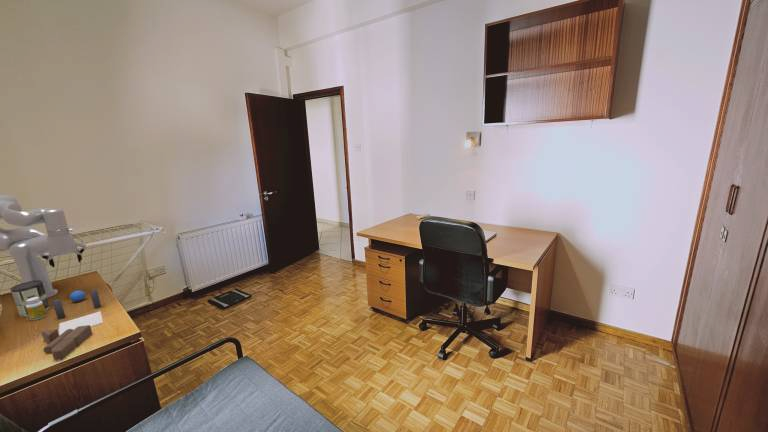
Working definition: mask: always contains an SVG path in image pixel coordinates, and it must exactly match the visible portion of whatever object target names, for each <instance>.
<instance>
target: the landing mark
mask: <svg viewBox="0 0 768 432" xmlns="http://www.w3.org/2000/svg"><path fill="white" fill-rule="evenodd" d="M103 323H104V320H103V316H102V312H101V310H100V311H97V312H94V313H89V314H85V315H83V316H80V317H77V318H74V319H73V318H72V319H70V320H66V321H63V322H60V323H58V324H59V326H58V328H59V329H58V333H59V336H60V335H61V334H62V333H63V332H65V331H66V330H68V329H73V330H74V329H75V328H77V327H78V326H86V325H90V327H94V326H97V325H102V324H103Z"/></svg>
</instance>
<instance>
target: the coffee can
mask: <svg viewBox="0 0 768 432" xmlns="http://www.w3.org/2000/svg"><path fill="white" fill-rule="evenodd" d="M9 290H10V291H11V294H12V296H13V299H14V303H15V306H16V308H17V311H18V314H19V316H20V317H29V316H28V312H27V309H26V305H27V302H26V300H27V299H29V298H33V297H39V301H42V302H43V305H44V308H45V311H48V310H49V309H51V305H50V302H49V299H48V298H47V296H46V293H45V289H44V286H43V282H42V281H41V280H36V281H29V282H25V283H23V282H22V283H18V284H16V285H13V286H12V287H10V288H9Z"/></svg>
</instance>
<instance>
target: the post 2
mask: <svg viewBox="0 0 768 432" xmlns="http://www.w3.org/2000/svg"><path fill="white" fill-rule="evenodd" d="M89 294H90V297H91V301H92V305H93V308H94V309H100V308H101V307H102V304H101V301H100V300H101V299H100V296H99V292H98V289H92V290H90V291H89Z"/></svg>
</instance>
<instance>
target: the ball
mask: <svg viewBox="0 0 768 432" xmlns="http://www.w3.org/2000/svg"><path fill="white" fill-rule="evenodd" d="M85 297H86V294H85V292H84V291H83V290H74V291H73V292H71V293H70V295H69V299H70V300H71V301H72V302H75V303H76V302H81V301H82V300H83V299H84V298H85Z"/></svg>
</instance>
